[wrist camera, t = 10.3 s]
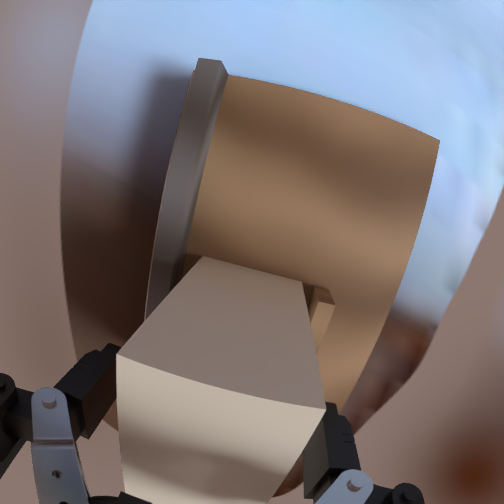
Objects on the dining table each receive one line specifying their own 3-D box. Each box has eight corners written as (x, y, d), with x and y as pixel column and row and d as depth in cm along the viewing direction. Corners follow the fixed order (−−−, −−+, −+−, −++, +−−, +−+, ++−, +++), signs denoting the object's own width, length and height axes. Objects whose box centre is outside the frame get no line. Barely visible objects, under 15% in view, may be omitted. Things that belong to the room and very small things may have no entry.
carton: (301, 281, 15) (326, 409, 6) (260, 400, 17) (246, 530, 8) (201, 255, 15) (113, 352, 6) (178, 379, 17) (124, 496, 8)
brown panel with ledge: (211, 80, 14) (194, 57, 11) (427, 142, 14) (459, 137, 11) (157, 357, 19) (137, 388, 15) (335, 399, 18) (343, 436, 15)
